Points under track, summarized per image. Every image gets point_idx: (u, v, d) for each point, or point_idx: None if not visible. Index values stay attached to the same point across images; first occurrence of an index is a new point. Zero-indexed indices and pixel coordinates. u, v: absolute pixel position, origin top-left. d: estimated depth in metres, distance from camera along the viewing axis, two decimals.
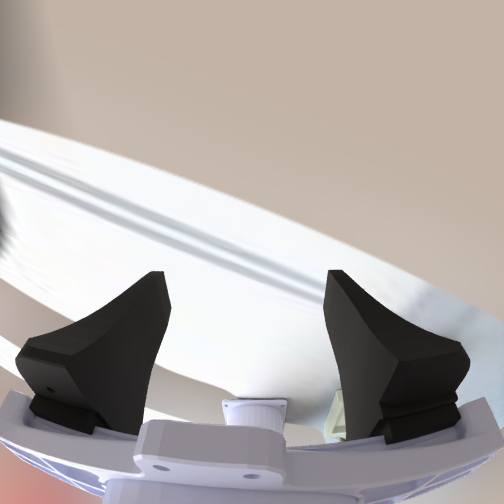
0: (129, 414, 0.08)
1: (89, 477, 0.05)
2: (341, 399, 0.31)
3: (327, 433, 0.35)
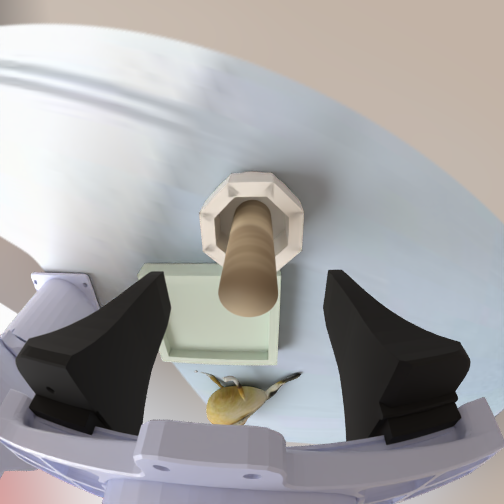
0: (129, 414, 0.08)
1: (89, 477, 0.05)
2: (142, 273, 0.22)
3: (162, 354, 0.26)
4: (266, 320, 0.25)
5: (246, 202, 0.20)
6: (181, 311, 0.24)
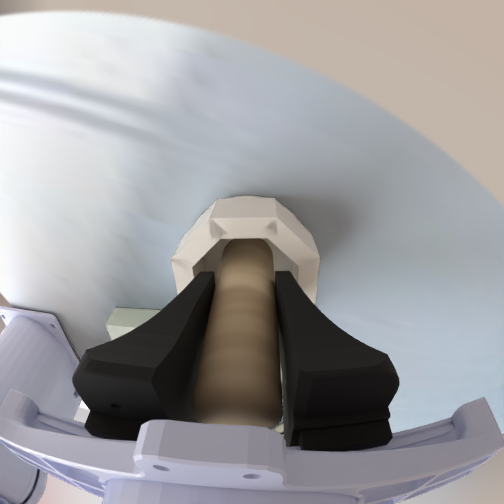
0: (192, 423, 0.08)
1: (89, 477, 0.05)
2: (112, 322, 0.17)
3: None
4: None
5: (238, 239, 0.14)
6: None
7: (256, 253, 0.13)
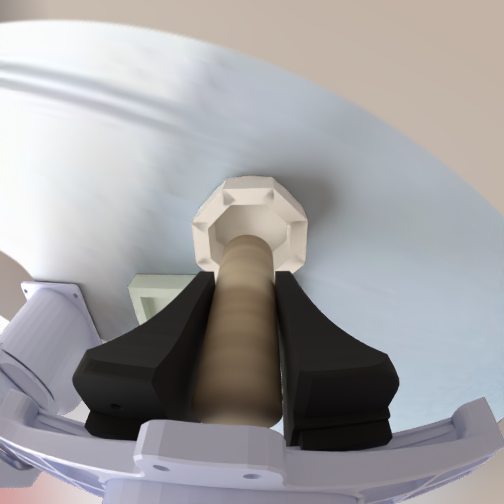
0: (192, 423, 0.08)
1: (89, 477, 0.05)
2: (133, 285, 0.20)
3: None
4: None
5: (238, 239, 0.14)
6: None
7: (256, 253, 0.13)
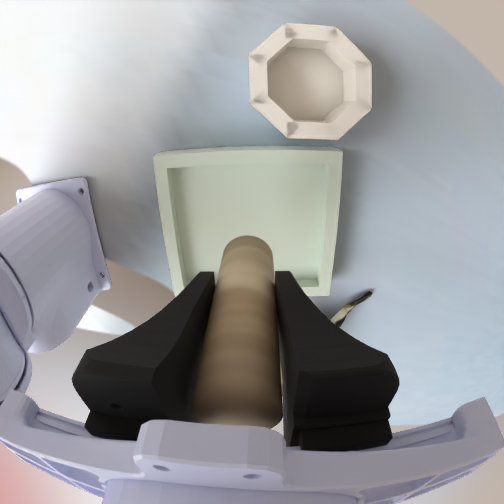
0: (192, 423, 0.08)
1: (89, 477, 0.05)
2: (160, 154, 0.16)
3: (175, 285, 0.20)
4: (319, 227, 0.19)
5: (239, 240, 0.14)
6: (207, 215, 0.19)
7: (256, 254, 0.13)
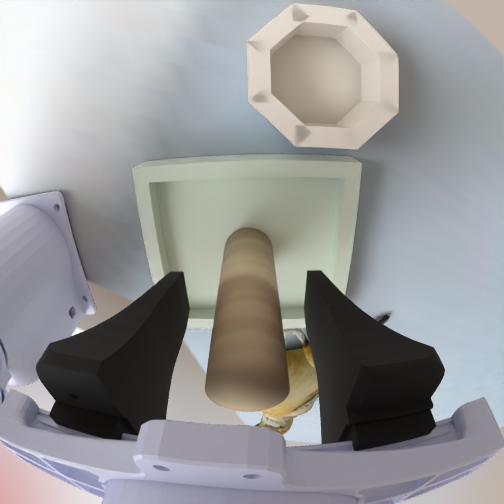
0: (153, 418, 0.08)
1: (89, 477, 0.05)
2: (141, 166, 0.13)
3: None
4: (330, 250, 0.16)
5: (240, 232, 0.15)
6: (198, 237, 0.16)
7: (257, 244, 0.14)
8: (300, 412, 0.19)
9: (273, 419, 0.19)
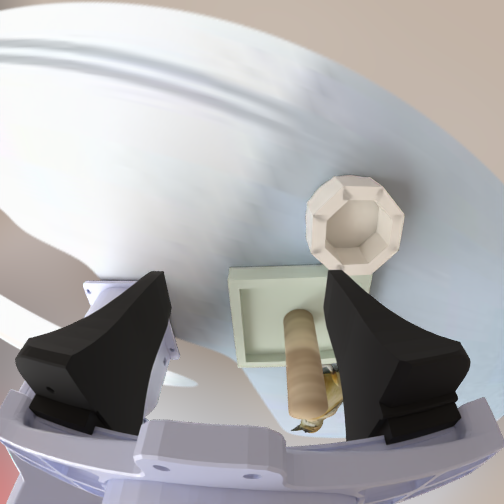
0: (129, 414, 0.08)
1: (89, 477, 0.05)
2: (233, 277, 0.22)
3: (239, 360, 0.26)
4: None
5: (295, 313, 0.24)
6: (266, 315, 0.24)
7: (307, 323, 0.23)
8: (329, 415, 0.27)
9: (311, 421, 0.28)
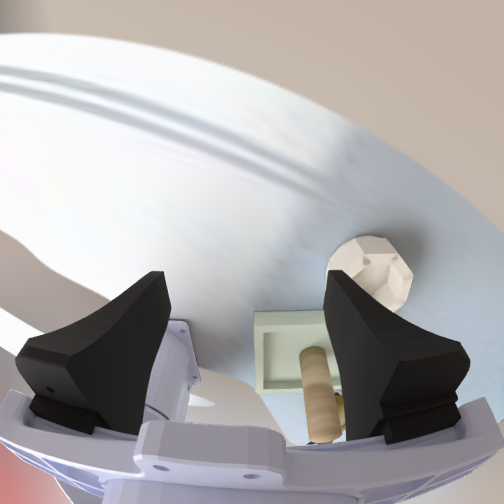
0: (129, 414, 0.08)
1: (89, 477, 0.05)
2: (258, 322, 0.24)
3: (257, 388, 0.28)
4: None
5: (310, 350, 0.26)
6: (284, 351, 0.26)
7: (321, 360, 0.25)
8: None
9: None
